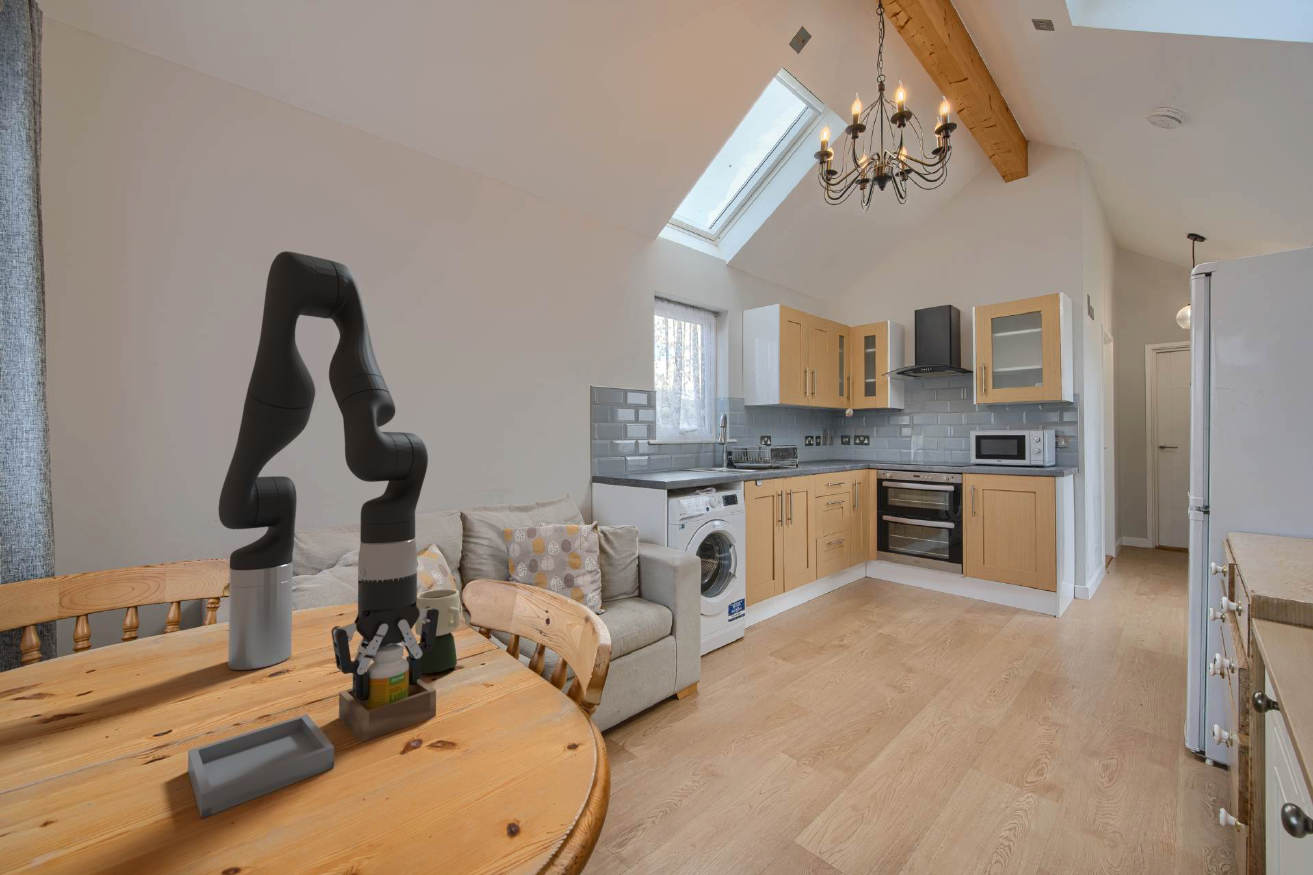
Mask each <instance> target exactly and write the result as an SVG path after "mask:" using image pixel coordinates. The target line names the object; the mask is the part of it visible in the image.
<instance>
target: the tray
mask: <svg viewBox="0 0 1313 875" xmlns="http://www.w3.org/2000/svg"><path fill="white" fill-rule="evenodd" d="M325 735H326V734H324V733H323V732H322V730H321V729H320V728H319V727H318V726H317V724H316V723H315V722H314V720H313V719H312V718H311V717H310V716H309V714H308V713H305V714H302V715H299V716H295V717H292V718H289V719H285V720H283V721H279V722H277V723H273V724H269V725H266V726H262V727H259V728H257V729H254V730H251V731H250V730H249V731H247V732H243V733H240V734H238V735H234V736H231V737H227V738H225V739H222V740H217V741H214V742H211V743H207V744H205V745H202V746H198V747H195V748H191V749H189V750H187V751H188V752H187V753H188V754H187V755H188V756H187V757H188V758H187V773H188V777H189V779H190V780H189V781H190V783H191V787H192V791H193V794H194V798H195V801H196V805H197V808H198V811H199V815H200V819H204V818H207V817H209V816H211V815H214V814H217V813H220V812H223V811H225V810H228V809H230V808H232V807H235V806H239V805H240V804H241V805H242V804H243V803H245V802H248V801H252V800H253V799H257V798H259V797H262V796H264V795H267V794H270V793H272V792H274V791H277V790H280V789H282V788H283V789H284V788H285V787H288V786H290V785H293V784H295V783H299V782H300V781H301V782H302V781H304V780H306V779H309V778H311V777H313V776H316V775H319V774H321V773H322V774H323V773H325V772H327V771H330V770H331V769H332V770H333V769H334V768H335V746H334V745H333V744H332V743H331V741H330V739H328V738H327V736H325Z"/></svg>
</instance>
